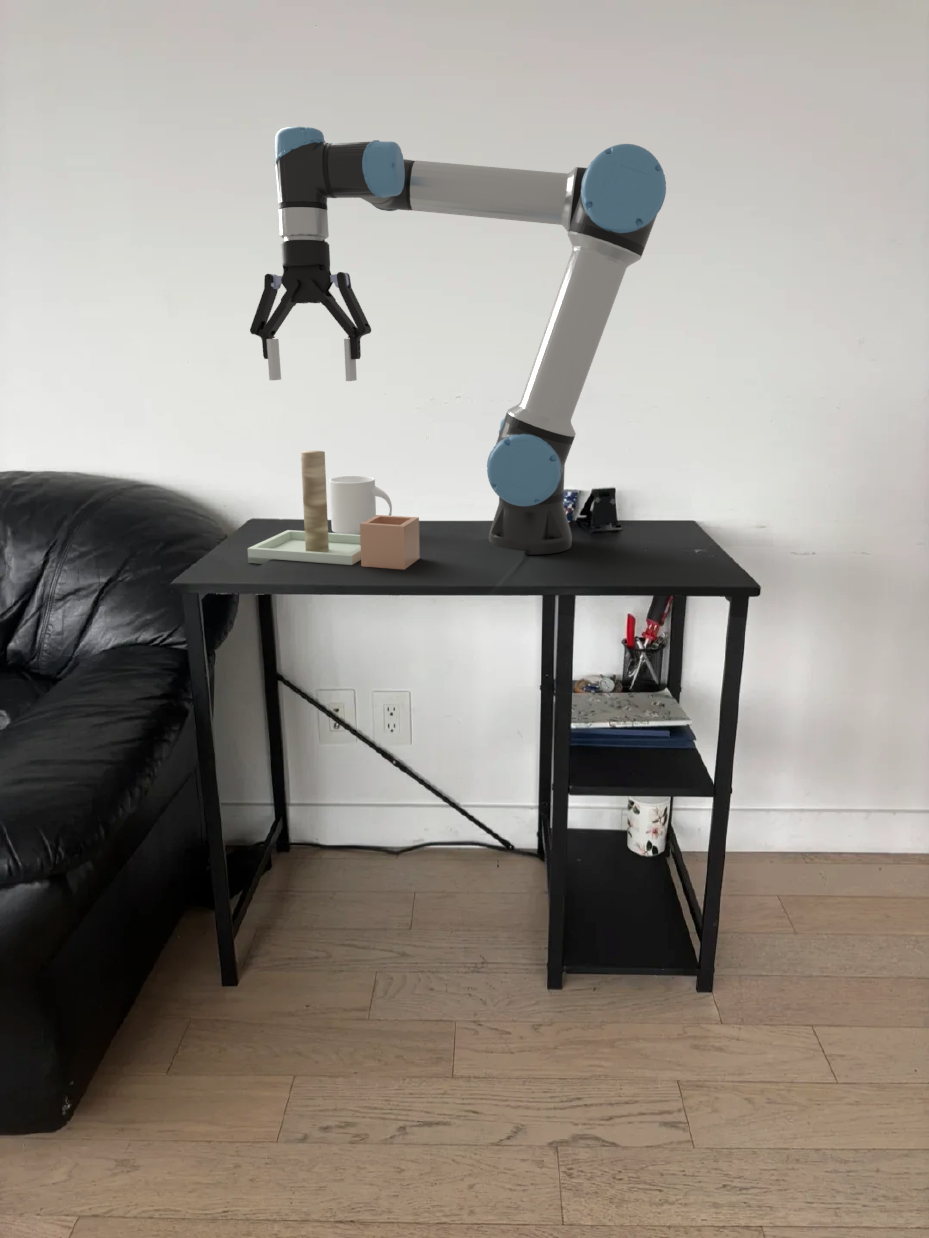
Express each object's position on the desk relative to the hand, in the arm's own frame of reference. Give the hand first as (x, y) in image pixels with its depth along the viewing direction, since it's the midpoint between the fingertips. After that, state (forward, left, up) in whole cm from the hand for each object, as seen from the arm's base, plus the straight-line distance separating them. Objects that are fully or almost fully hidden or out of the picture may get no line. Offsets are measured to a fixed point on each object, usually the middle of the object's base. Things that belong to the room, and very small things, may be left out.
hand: (312, 380), depth 144 cm
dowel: (+1, 0, -29) cm, 29 cm away
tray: (+1, 0, -30) cm, 30 cm away
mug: (0, -18, -30) cm, 35 cm away
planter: (-14, +4, -30) cm, 33 cm away
